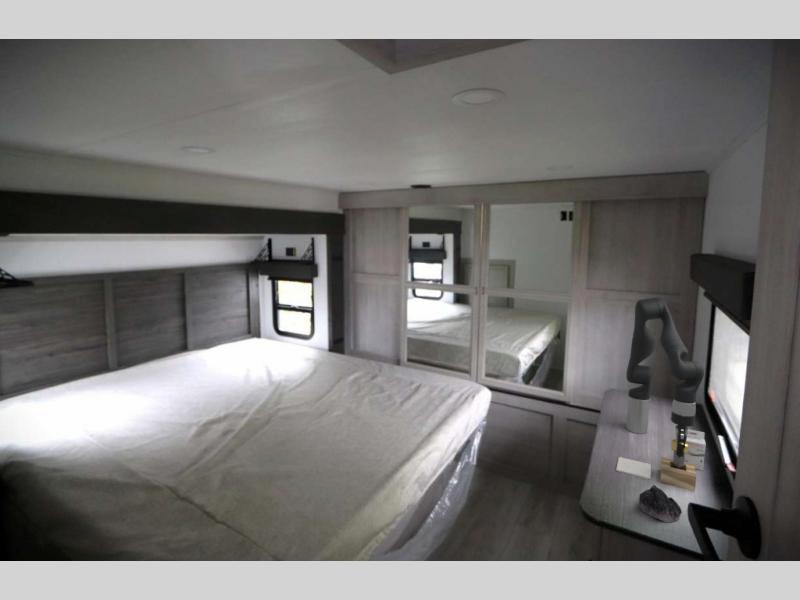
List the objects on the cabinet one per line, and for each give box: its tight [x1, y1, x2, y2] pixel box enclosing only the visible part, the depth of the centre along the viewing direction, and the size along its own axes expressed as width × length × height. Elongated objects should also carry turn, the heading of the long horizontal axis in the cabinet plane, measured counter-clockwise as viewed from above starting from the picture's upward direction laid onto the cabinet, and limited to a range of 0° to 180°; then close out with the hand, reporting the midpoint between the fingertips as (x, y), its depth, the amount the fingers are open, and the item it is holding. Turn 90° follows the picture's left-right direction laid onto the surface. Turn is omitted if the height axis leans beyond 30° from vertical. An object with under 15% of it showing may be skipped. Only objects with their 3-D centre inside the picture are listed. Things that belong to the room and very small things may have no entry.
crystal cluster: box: [638, 484, 683, 523], centre depth 145 cm, size 13×14×10 cm
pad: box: [615, 456, 652, 480], centre depth 173 cm, size 12×12×1 cm
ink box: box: [684, 428, 707, 471], centre depth 173 cm, size 9×5×15 cm, turn 59°
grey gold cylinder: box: [670, 438, 689, 470], centre depth 163 cm, size 6×6×15 cm
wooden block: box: [659, 456, 697, 493], centre depth 163 cm, size 11×11×6 cm
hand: (679, 452), depth 162 cm, fingers closed on grey gold cylinder, 5 cm apart
